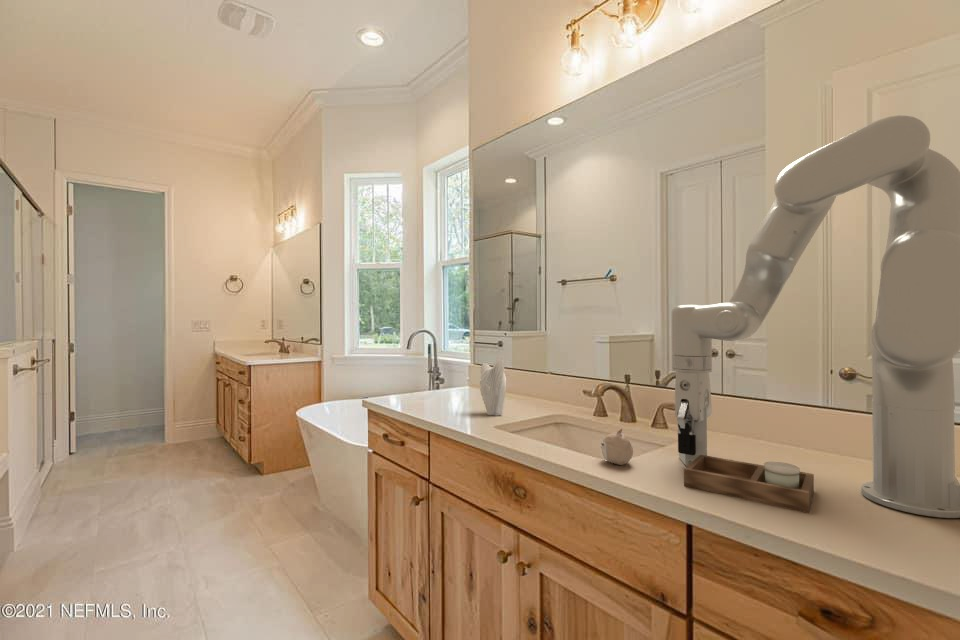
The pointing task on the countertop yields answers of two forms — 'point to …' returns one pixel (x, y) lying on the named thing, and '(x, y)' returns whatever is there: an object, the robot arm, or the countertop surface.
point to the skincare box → (697, 440)
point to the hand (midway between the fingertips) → (692, 448)
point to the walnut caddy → (747, 482)
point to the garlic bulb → (617, 448)
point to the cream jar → (782, 474)
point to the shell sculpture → (493, 387)
